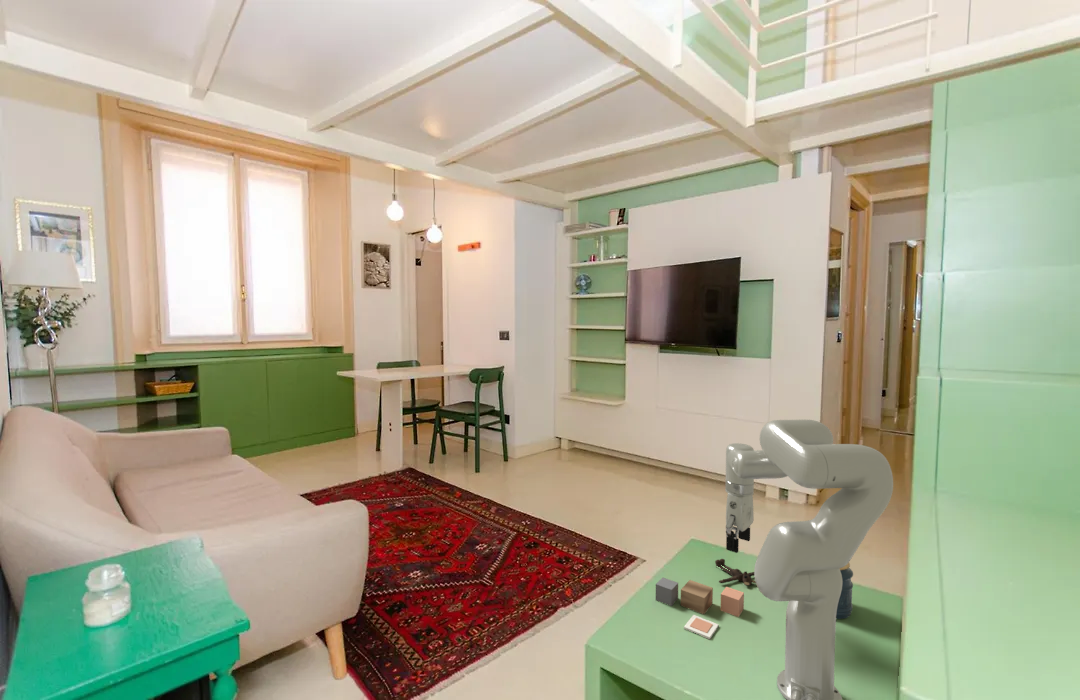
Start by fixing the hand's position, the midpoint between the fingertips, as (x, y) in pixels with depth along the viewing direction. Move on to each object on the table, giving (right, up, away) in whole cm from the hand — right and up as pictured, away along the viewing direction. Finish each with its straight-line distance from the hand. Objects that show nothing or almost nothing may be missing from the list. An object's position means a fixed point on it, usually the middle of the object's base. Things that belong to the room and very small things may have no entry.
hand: (738, 545), depth 135 cm
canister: (+27, -19, +2) cm, 33 cm away
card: (-14, -19, -8) cm, 25 cm away
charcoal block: (-19, -19, +6) cm, 28 cm away
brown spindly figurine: (+7, -19, +19) cm, 28 cm away
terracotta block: (-2, -19, 0) cm, 19 cm away
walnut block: (-11, -19, +3) cm, 22 cm away
